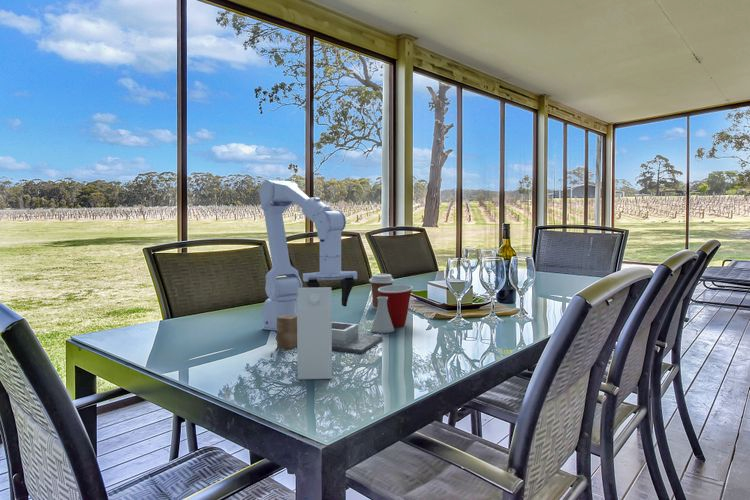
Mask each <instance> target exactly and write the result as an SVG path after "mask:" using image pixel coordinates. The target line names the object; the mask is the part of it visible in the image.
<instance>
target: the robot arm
mask: <svg viewBox="0 0 750 500" xmlns="http://www.w3.org/2000/svg"><path fill="white" fill-rule="evenodd" d="M258 193H259V199H260V200H259V201H260V208H261V210H262V211H263V214H264V215H263V217H264V221H265V227H266V233H267V240H268V245H269V247H268V248H269V253H270V258H271V267H272V268H271V269H270V270H269V271H268V272H266V275H265V287H264V289H265V294H266V296H267V297H268V298H267V299H265V301H264V302H263V307H262V315H263V316H262V321H263V324H262V327H261V330H266V331H267V330H268V331H276V332H277V318H278V317H280V316H283V315H293V316H297V300H298V288H303V282H302V281H304V283H306V286H307V288H320V287H321V285H320V283H319V282H318V281H335V280H336V281H337V280H340V285H341V287H340V288H341V306H343V307H347V305H348V300H349V297H350V294H351V291H352V289H353V287H354V286H355V283H356V282H355V281H356V280H358V272H357V271H355V270H352V271H351V270H348V271H347V270H344V271H343V270H342V232H343V231H344V229H345V228H346V225H347V224H346V223H347V220H346V219H347V218H346V215H345V214H344V212H342V211H341V210H339V209H336V210H333V209H332V208H331V206H330V205H327V204H325V203H324V202H323V201H321V198H320V197H318V196H317V197H315V196H314V197H309V196H308V195H307V194H306V193H305V192H303V191H302V190H301V189H300V187H299V184H298V183H296V182H295V181H293V180H270V179H264V180H263V181H262V183H261V185H260V187H259V190H258ZM293 204H295V205H296V206H298V207H300V208H301V212H302V214H303V215H304V216H305V217H306V218H307V219H309V220H310V221H311V222H312V223H314V228H315V229H316V232H317V233H316V234H317V238H318V240H319V271H315V272H306V273H302V279H301V278H300V275H299V270H297V269H296V268H295V267H294V266H292V265H291V261H290V260H291V259H290V255H289V249H288V243H287V235H286V229H285V223H284V218H283V214H284V212H285V211H287V210H288V209H289V208H290V207H291V205H293Z"/></svg>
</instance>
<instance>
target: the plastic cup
mask: <svg viewBox="0 0 750 500" xmlns="http://www.w3.org/2000/svg"><path fill="white" fill-rule="evenodd" d="M413 288H414V286H412V285H410V284H392V285H389V286H384V287H380V288H378V291H379V293H380V295H381V297H388V300H387V308H388V312H389V315H390V319H391V322H392V324H393V327H394V328H402V327H405V325H406V322H407V316H408V313H409V307H410V298H411V294H412V290H413Z"/></svg>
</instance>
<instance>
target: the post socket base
mask: <svg viewBox="0 0 750 500" xmlns="http://www.w3.org/2000/svg"><path fill="white" fill-rule="evenodd" d="M383 339H384V337H383V336H379V335H373V334H371V335H370V334H360V333H359V324H358V323H350V322H349V323H348V322H339V321H337V322H336V321H332V351H337V352H344V353H345V352H346V353H353V354H358V355H359V354H360V355H362V354H364V353H365V352H368V351H369V350H370V349H371V348H373V347H375V346H376V345H377V344H379V343H380V342H382V341H383Z"/></svg>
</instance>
